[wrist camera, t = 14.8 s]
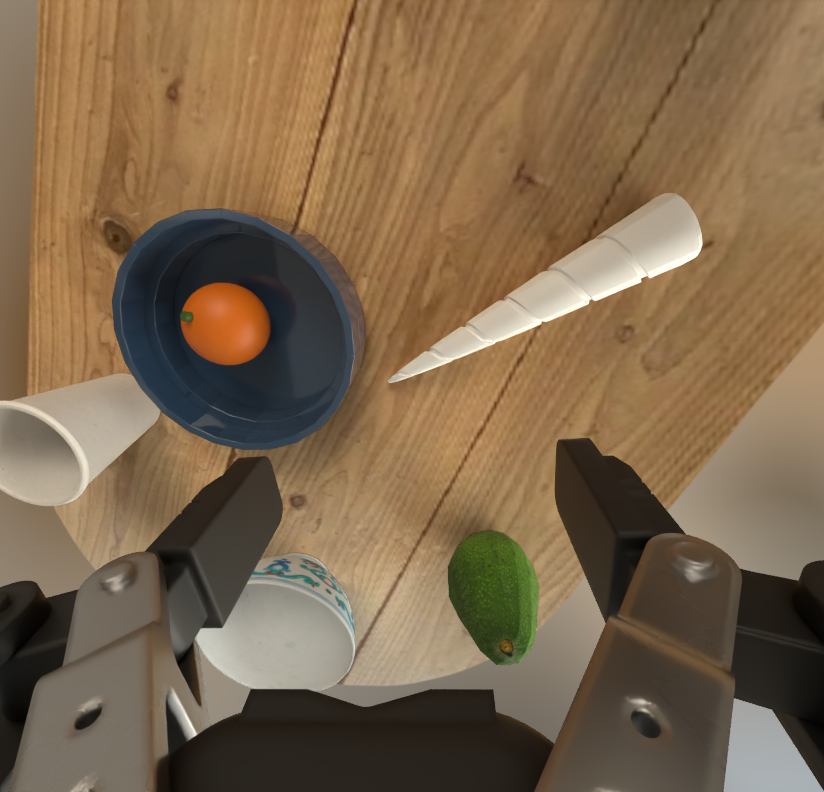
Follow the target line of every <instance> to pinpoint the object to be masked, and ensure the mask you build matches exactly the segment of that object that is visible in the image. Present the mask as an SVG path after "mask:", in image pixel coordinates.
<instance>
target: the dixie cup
mask: <svg viewBox="0 0 824 792" xmlns="http://www.w3.org/2000/svg"><path fill="white" fill-rule="evenodd" d="M160 411H161V410H160V409H159V408H158V407H157V406H156V405H155V404H154V403H153V402H152V401H151V399H150V398H149V397H148V396H147V395H146V394H145V393H144V392H143V391H142V389H141V388H140V387H139V385H138V383H137V382H136V380H135V378H134V377H133V375H130V374H125V373H118V374H113V375H109V376H105V377H101V378H98V379H94V380H90V381H86V382H82V383H78V384H74V385H70V386H66V387H62V388H58V389H55V390H51V391H47V392H43V393H39V394H35V395H31V396H27V397H23V398H19V399H16V400H12V401H0V490H2V491H3V492H5V493H7V494H9V495H10V496H12V497H14V498H16V499H19V500H21V501H24V502H27V503H31V504H35V505H41V506H59V505H64V504H67V503H69V502H72V501H73V500H75V499H77V498H78V497H79V496H80V495H81V494H82V493H83V492H84V490H85V488H86V486H87V485H88V484H89V483H90V482H91V481H92V480H93V479H94V478H95V477H96V476H98V475H99V474H100V473H101V472H102V471H103V470H104V469H105V468H106V467H107V466H109V465H110V464H111V463H112V462H113V461H114V460H115V459H116V458H117V457H118V456H119V455H121V454H122V453H123V452H124V451H125V450H126V449H127V448H128V447H129V446H131V445H132V444H133V443H134V442H135V441H136V440H137V439H138V438H139V437H140V436H141V435H143V434H144V433H145V432H146V431H147V430H148V429H149V428H150V427H151V426H153V425H154V424H155V423H156V421H157V420H158V418H159V415H160Z"/></svg>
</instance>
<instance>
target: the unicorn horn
mask: <svg viewBox="0 0 824 792" xmlns="http://www.w3.org/2000/svg"><path fill="white" fill-rule="evenodd" d="M701 247H702V233H701V229H700V226H699V223H698V220H697V218H696V216H695V214H694V212H693V211H692V209H691V207H690V206H689V205H688V203H687V202H686V201H685V200H684V199H683V198H682V197H681V196H679V195H677V194H675V193H665V194H661V195H660V196H658V197H656V198H654V199H653V200H651V201H649V202H648V203H646V204H645V205H643V206H642V207H640V208H639V209H637V210H636V211H634V212H633V213H631V214H630V215H628V216H627V217H625V218H624V219H622V220H621V221H619V222H618V223H616V224H614V225H613V226H611V227H610V228H608V229H607V230H605V231H604V232H602V233H601V234H599V235H598V236H597V237H596V238H595V239H594V240H591V241H589V242H587V243H585V244H584V245H582V246H581V247H579V248H578V249H576V250H574V251H573V252H571V253H570V254H568V255H567V256H565V257H563V258H562V259H560V260H559V261H557V262H555V263H554V264H552V265H551V266H549V267H548V269H547V271H544V272H540V273H539V274H537V275H536V276H535V277H533V278H532V279H530V280H529V281H527V282H526V283H524V284H523V285H521V286H520V287H518V288H517V289H515V290H514V291H512V292H511V293H509V294H508V295H506V296H505V298H504V300H500V301H497V302H496V303H494V304H493V305H491V306H490V307H488V308H487V309H485V310H484V311H482V312H481V313H479V314H478V315H476V316H475V317H473V318H472V319H471V320H469V321H468V322H466V324H465V327H459V328H457V329H456V330H455V331H453V332H452V333H450V334H449V335H447V336H446V337H444V338H443V339H442V340H440V341H439V342H437V343H436V344H435V345H433V346H432V347H430V348H429V351H428V352H427V351H426V352H423V353H422V354H421V355H419V356H418V357H416V358H415V359H414V360H412V361H411V362H410V363H408V364H407V365H406V366H404V367H403V368H402V369H400V370H399V371H398V372H397V373H396V375H394V376H392V377H391V378H390V379H389V381H388V383H392V382H397V381H400V380H403V379H406V378H409V377H412V376H414V375H415V374H420V373H422V372H425V371H428V370H430V369H433V368H435V367H438V366H440V365H443V364H446V363H448V362H451V361H452V360H453V359H458V358H461V357H463V356H465V355H468V354H470V353H473V352H475V351H478V350H480V349H483V348H485V347H488V346H490V345H492V344H495V342H496V341H497V342H499V341H502V340H504V339H507V338H509V337H512V336H514V335H517V334H519V333H521V332H524V331H526V330H528V329H531V328H533V327H536V326H538V325H540V324H541V322H542V321H544V322H547V321H550V320H552V319H555V318H557V317H559V316H562V315H564V314H566V313H569V312H571V311H574V310H576V309H578V308H581V307H583V306H585V305H588V304H589V300H591V299H593V301H597V300H599V299H602V298H604V297H606V296H609V295H611V294H614V293H616V292H618V291H621V290H623V289H625V288H628V287H630V286H633V285H635V284H638V283H640V282H641V278H643V277H645V276H648V277H649V278H652V277H654V276H656V275H659V274H661V273H663V272H666V271H668V270H670V269H673V268H675V267H678V266H680V265H682V264H684V263H686V262H688V261H690V260H692V259H693V258H695V257H697V255H698V254H699V252H700V250H701Z"/></svg>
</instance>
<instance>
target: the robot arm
mask: <svg viewBox="0 0 824 792" xmlns="http://www.w3.org/2000/svg"><path fill="white" fill-rule="evenodd" d="M555 499H556V505H557V509H558V512H559V514H560V517H561V519H562V522H563V524H564V526H565V529H566V531H567V533H568V536H569V538H570V540H571V543H572V545H573V547H574V550H575V552H576V554H577V557H578V559H579V562H580V564H581V566H582V569H583V571H584V573H585V576H586V578H587V580H588V583H589V585H590V587H591V590H592V592H593V594H594V597H595V599H596V602H597V604H598V606H599V609H600V611H601V613H602V615H603V618H604V620H605V623H606V625H605V628H604V629H603V632H602V634H601V636H600V639H599V641H598V643H597V646H596V648H595V650H594V653H593V655H592V657H591V660H590V662H589V664H588V667H587V669H586V671H585V674H584V676H583V679H582V681H581V683H580V686H579V688H578V690H577V693H576V695H575V697H574V700H573V702H572V704H571V707H570V709H569V711H568V714H567V716H566V719H565V721H564V723H563V726H562V728H561V730H560V732H559V735H558V737H557V740H556V742H555V744H554V743H553V742H551V741H550V740H549V739H547V738H546V737H545V736H544V735H542V734H541V733H539V732H538V731H536V730H535V729H533V728H531V727H529V726H528V725H526V724H525V723H522V722H520V721H518V720H516V719H514V718H512V717H510V716H507V715H503V714H500V713H497V712H496V710H495V702H494V693H493V690H456V689H455V690H453V689H452V690H451V689H448V690H447V689H440V690H439V689H434V690H432V689H430V690H427V691H424V692H420V693H417V694H413V695H410V696H406V697H403V698H399V699H396V700H392V701H389V702H386V703H382V704H378V705H375V706H370V707H361V706H357V705H354V704H351V703H348V702H345V701H342V700H339V699H336V698H333V697H330V696H327V695H324V694H321V693H318V692H315V691H312V690H309V689H251V691H250V693H249V695H248V698H247V700H246V703H245V705H244V707H243V710H242V712H241V713H238V714H235V715H233V716H230V717H228V718H226V719H223V720H221V721H219V722H217V723H215V724H214V725H212V726H211V724H210V719H209V714H208V707H207V701H206V694H205V687H204V680H203V674H202V667H201V660H200V654H199V648H198V644H197V642H196V640H195V637H196V636H197V634H198V632H199V631H200V629H201V628H223V626H224V625H225V623H226V621H227V619H228V617H229V615H230V614H231V612H232V610H233V608H234V606H235V604H236V603H237V601H238V599H239V597H240V595H241V593H242V592H243V590H244V588H245V586H246V584H247V582H248V581H249V579H250V577H251V575H252V573H253V571H254V570H255V568H256V566H257V564H258V562H259V560H260V559H261V557H262V555H263V553H264V551H265V549H266V548H267V546H268V544H269V542H270V540H271V538H272V537H273V535H274V533H275V531H276V529H277V527H278V526H279V524H280V521H281V518H282V511H283V505H282V499H281V496H280V492H279V489H278V485H277V482H276V478H275V475H274V471H273V468H272V464H271V462H270V460H269V458H267V457H265V456H262V457H246V458H238V459H237V460H236V461H235V462H234V463H233V464H232V465H231V466H230V468H229V469H228V470H227V471H226V472H225V473H224V474H223V476H220V477H219V478H217V479H216V480H214V481H213V482H211V483H210V484H208V485H207V486H205V487H204V488H203V489H202V490H201V491H200V492H199V493H198V494H197V495H196V496H195V497H194V499H193V500H192V503H189V504H188V505H187V506H186V507H185V508H184V509H183V511H182V514H179V515H178V516H177V517H176V518H175V519H174V520H173V521H172V523H171V524H170V525H169V526H168V527H167V528H166V529H165V530H164V531H163V532H162V533H161V534H160V536H159V537H158V538H157V539H156V540H155V541H154V542H153V543H152V544H151V545H150V546H149V548H148V549H147V550H146V551H145V552H135V553H131V554H127V555H125V556H122V557H119V558H117V559H115V560H113V561H111V562H109V563H107V564H106V565H104V566H103V567H101V568H100V569H98V570H97V571H96V572H94V573H93V574H92V575H91V576H90V577H89V578H88V579H87V580H86V581H85V582H84V583H83V584H82V585H81V587H80V589H79V590H74V591H71V592H67V593H63V594H60V595H56V596H52V597H49V598H46V597H45V596H44V594H43V593H42V591H41V589H40V588H39V586H38V585H37V583H35V582H33V581H20V582H16V583H12V584H9V585H6V586H3V587H0V792H723V790H724V781H725V771H726V763H727V754H728V745H729V735H730V727H731V718H732V709H733V700H734V698H736V699H739V700H742V701H746V702H749V703H752V704H755V705H759V706H762V707H765V708H768V709H772V710H773V712H774V713H775V715H776V716H777V718H778V720H779V721H780V723H781V724H782V726H783V727H784V729H785V731H786V732H787V734H788V735H789V737H790V738H791V740H792V741H793V743H794V745H795V746H796V748H797V749H798V751H799V753H800V754H801V756H802V757H803V759H804V760H805V762H806V764H807V765H808V767H809V768H810V770H811V771H812V773H813V775H814V776H815V778H816V779H817V781H818V782H819V784H820V786H821V787H822V789H823V790H824V560H823V561H815V562H811V563H809V564H807V565H806V566H805V567H804V568H803V571H802V573H801V576H800V578H799V581H797V580H791V579H787V578H782V577H776V576H771V575H766V574H761V573H756V572H751V571H747V570H743V569H740V568H739V567H738V565H737V564H736V563H735V561H734V560H733V559H732V558H731V557H730V556H729V555H728V554H726V553H725V552H724V551H722V550H721V549H720V548H718V547H716V546H715V545H713V544H711V543H709V542H707V541H704V540H702V539H699V538H697V537H693V536H690V535H686V534H685V533H684V531H683V530H682V529H681V528H680V527H679V525H678V524H677V523H676V522H675V521H674V519H673V518H672V517H671V515H670V514H669V513H668V512H667V511H666V509H665V508H664V507H663V506H662V504H661V503H660V502H659V501H658V499H657V498H656V497H655V496H654V495H653V494H651V491H650V490H649V488H648V487H647V486H646V485H645V484H644V483H642V481H641V479H640V477H639V476H638V475H637V474H636V472H635V471H634V470H633V469H632V468H631V466H629V465H627V464H626V463H624V462H623V461H621V460H619V459H618V458H616V457H614V456H602V454H601V453H600V452H599V450H598V449H597V448H596V446H595V445H594V443H593V442H592V441H591V440H590V439H589V438H578V439H561V440H558V442H557V448H556V470H555Z"/></svg>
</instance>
